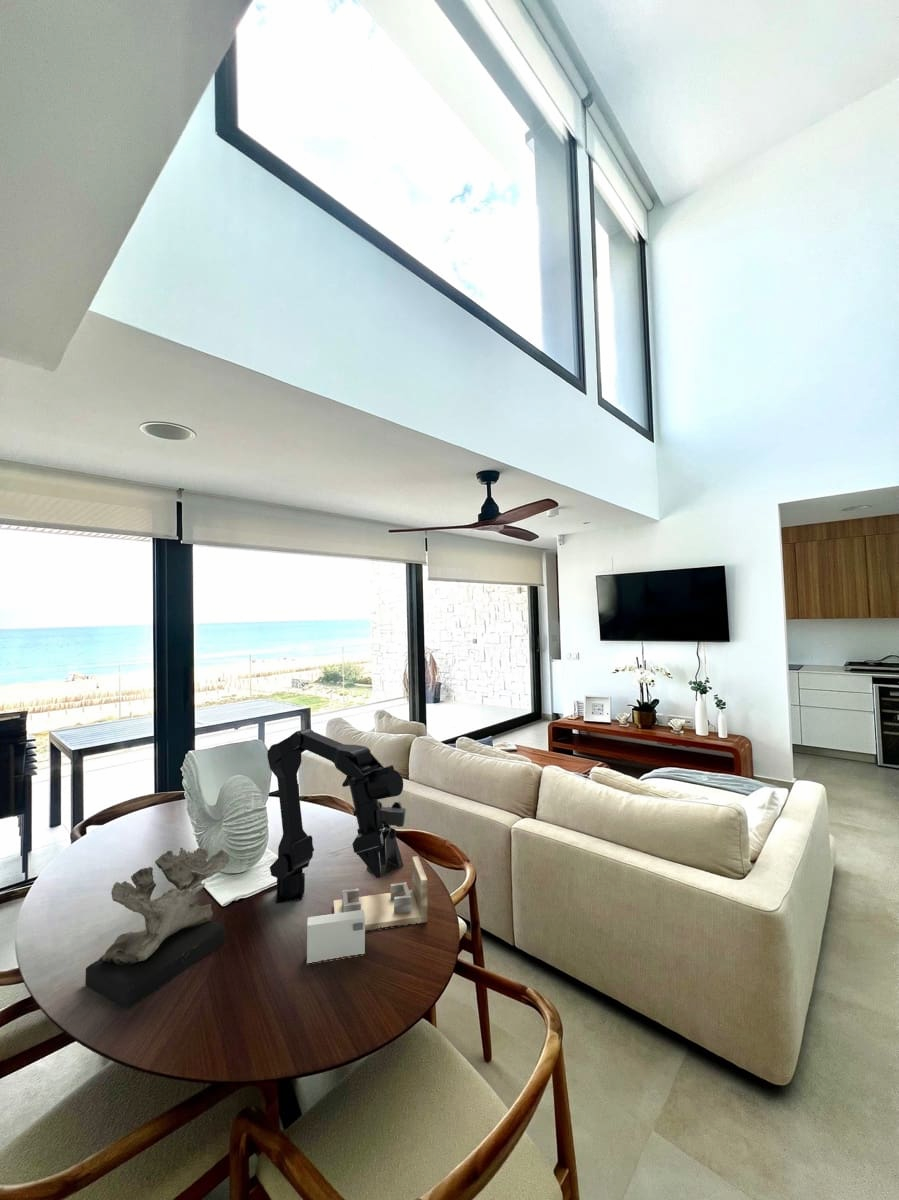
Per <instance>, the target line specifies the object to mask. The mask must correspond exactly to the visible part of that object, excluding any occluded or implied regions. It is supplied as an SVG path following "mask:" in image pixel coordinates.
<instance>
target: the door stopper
mask: <svg viewBox="0 0 899 1200" xmlns="http://www.w3.org/2000/svg"><path fill="white" fill-rule="evenodd" d="M384 828H385V829H388V828H387V827H384ZM390 828H391V829H390V831H389V833H388V835H387V837H386V864H385V865H381V863H380V865H381V876H383V875H385V874H387V875H389V874H390V872H391V873H393V872H395V871H398V870H399V869H401V868H403V867H404V865H405V864H404V862H403V858H402V855H401V852H400V851H401V850H400V849H399V844H398V842H397V830H396V829H395V828H393V827H391V826H390ZM394 870H395V871H394ZM366 871H367V872H370V873H371V874H373V873H372V872H371V871H370V869H369V868H368V867H367V866H366ZM392 871H393V872H392ZM388 873H389V874H388ZM385 876H386V875H385ZM383 877H384V876H383Z"/></svg>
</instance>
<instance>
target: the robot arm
mask: <svg viewBox="0 0 899 1200" xmlns="http://www.w3.org/2000/svg"><path fill="white" fill-rule="evenodd" d="M305 751H308V752H311V753H313V754H315V755H317V756H319V757H321V758H324V759H326V760H328V761H330V762H332V763H333V764H334V766H335V768H336V770H337V771H339V772H340V773H342V774H344V775H345V776H346V777H345V779H344V781H343V782H342V785H341V786H342V787H343V788H344V787H349V790H350V794H351V799H352V803H353V804H352V805H353V808H354V810H353V811H352V813H353V816H354V817H356V821H357V825H358V829H357V830H356V831H357V835H356V837H355V838H354V840H353V842H352V844H351V845H352V849H353V852H354V854H356V855H357V856H359V858H360V859H361V860H362V861H363V863H364V864H365V865H366V868H367V867H368V868H369V869H370V871H371V872H372V873H371V872H370V873H371V874H372V875H373V877H375V878H376V879H379V878H380V877H381V865H385V864H386V837H387V835H388V833H389V831H390V829H391V828H392V827H391V826H396V827H398V828H402V827H404V824H405V820H406V812H407V811H406V810H407V809H406V808H405V807H402V804H401V802H400V801H399V802H398V801H394V802H393V803H392V806H388V807H385V806H383V803H382V801H380V800H384V799H388V798H395V797H399V796H400V795H401V794H402V793H403V789H404V778H403V777H402V776H401V774H400V772H399V771H398V770H396V769H395V768H394V764H391V765H388V766H387V765H386V766H385V767H384V766H383V765H382V763H380V761H379V760H378V759H377V758H376V757H375V756H374V755H373V753H371V750H370V748H368V747H367V746H365V745H358V744H345V743H341V742H338V740H337V741H336V740H334V739H331V738H329V737H327V736H324V735H323V734H320V733H318V732H315V731H314V730H313V729H311V728H305V729H300V730H297V731H295V732H293V733H292V734H290V736H289V737H287V738H285V739H283V740H282V741H279V742H277V743H274V744H272V745H270V746H269V749H268V750H267V755H266V756H267V761H268V766H269V770H270V771H271V772H272V773H273V775H274V776H275V777H276V778H277V787H278V798H279V806H280V807H279V808H280V817H281V825H282V827H281V828H282V836H281V840H280V841H279V844H278V847H277V850H278V851H277V859H276V860H275V861H274V862H273V863H272V864H271V865H270V866H269V870H270V871H269V872H270V875H271V877H273V878H276V895H275V896H276V897H275V903H277V904H279V903H280V904H281V903H284V902H285V903H286V902H294V901H301V900H303V895H304V894H305V887H306V886H305V885H306V883H305V881H306V872H304V871H303V870H304V869H306V868H308V867H309V865H310V862H311V860H312V858H313V857H314V852H315V848H314V844H313V836H312V835H308V834H307V833H306V832H305V831H304V827H303V818H302V809H301V800H300V799H301V798H300V792H299V782H298V772H299V769H300V767H301V765H302V753H304V752H305ZM384 827H387V828H388V829H385V828H384ZM390 827H391V828H390ZM380 863H381V865H380ZM381 878H382V877H381ZM381 878H380V879H381Z"/></svg>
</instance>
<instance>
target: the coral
mask: <svg viewBox="0 0 899 1200" xmlns="http://www.w3.org/2000/svg"><path fill="white" fill-rule="evenodd" d="M208 857H209V850H207V849H206V848H201V847H197V848H196V850H193V851H191V852H190V850H189V851H186V850H185V849H184V848H183V847H180V850H179V852H178V854H174V853H173V850H167V851H166V853H163V854H161V855H160V856H159V857H158V858H157V859H156V860H155V861H154V862H155V863H154V864H155V865H156V866H157V867H158V868H159V869H160V870H161V872H163V875H164V876H165V878H166V880H168V883H171V884H172V885H173V886H175V888H173V887H172V888H171V889H168V891H166V892H164V893H163V894H162V895H161V896H159V897H157V898H154V899H151V896H152V894H153V892H154V890H155V888H156V886H157V883H156V882H155V880H154V877H155V875H154V874H153V872H154V871H153V870H154V868H153V867H152V866H148V867H143V868H140V869H139V870H137V871H136V872H134V873H133V874H132V875H131V876H130V878H131V881H132V883H133V884H134V885H132V883H130V882H127V880H124V881H122V882H121V883H120V882H119V881H116V882H115V883H114V884H113V886H112V888H111V892H110V893H111V898H112V901H113V902H116V903H118V904H120V905H122V906H124V907H125V908H126V909H128V910H130V911H131V912H134V913H139V914H140V915H141V916H143V917H144V922H145V929H144V930H141V931H137V932H136V931H135V932H133V931H130V932H129V931H128V932H126V933H122V934H120V935H118V936H117V937H116V939H115V940H114V942H113V943H112V944H111V945H110V946H109V948H107V950H106V951H105V952H104V954H103V955H101V957H100V958H99V959H97V960H96V961H94V962H92V963H91V964H89V965H88V966H86V968H85V977H84V978H85V983H84V985H85V987H86V988H88V989H90V990H91V991H94V992H95V993H97V994H99V995H100V996H103V998H106V999H107V1000H109V1001H111V1002H113V1003H114V1004H115V1005H117V1006H119V1007H121V1008H122V1009H124V1010H129V1009H131V1008H132V1007H134V1006H135V1005H136V1004H138V1003H139V1002H141V1001H142V1000H144V999H145V998H146V997H148V996H149V995H151V994H153V993H154V992H155V991H156V990H158V989H160V988H161V987H162V986H163V985H165V984H167V983H168V982H169V981H171V980H172V979H173V978H175V977H177V976H178V975H180V974H181V973H182V972H184V971H185V970H187V969H188V968H190V967H191V966H192V965H194V964H195V963H197V962H199V961H200V960H201V959H203V958H204V957H206V955H208V954H211V952H213V951H214V950H216V949H217V948H218V947H220V946H221V945H223V944H224V943H225V940H226V938H225V937H226V936H225V935H226V927H225V926H224V925H222V924H220V923H217V922H215V921H212V920H211V919H212V917H213V916H214V913H213V910H212V904H211V903H208V904H206V905H203V906H202V905H199V904H197V903H195V902H194V903H191V902H192V899H193V897H194V894H197V892H199V891H201V890H202V889H203V888H204V887H205V886H206V883H205V882H203V881H205V880H207V879H209V878H211V877H213V876H214V875H216V874H217V873H219V872H220V871H221V870H223V869H224V868H226V867H227V866H228V865H229V863H230V854H229V853H228V852H227V851H225V850H223V849H220V850H219V851H218V852H217V853H215V854H212V855H211V857H210V858H209V859H208ZM202 882H203V883H202Z"/></svg>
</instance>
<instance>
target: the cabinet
mask: <svg viewBox="0 0 899 1200" xmlns="http://www.w3.org/2000/svg"><path fill="white" fill-rule="evenodd" d="M411 861H412V865H411V866H412V867H411V873H412V874H411V889H409V886H408V883H407V881H405V882H398V883H390V892H388V893H379V894H372V895H365V896H360V888H350V889H344V890H342V892H341V893H342V894H341V895H342V899H335V900H333V914H336V913H343V912H350V911H357V910H364V914H365V930H371V929H376V928H380V927H382V928H383V927H388V926H394V925H404V926H409V925H408V924H411V925H417V924H423V923H428V878H427V874H426V872H425V871H424V867H423V865H422V863H421V861H420V856H417V855H416V856H412V859H411ZM416 923H417V924H416ZM371 931H372V930H371Z"/></svg>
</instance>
